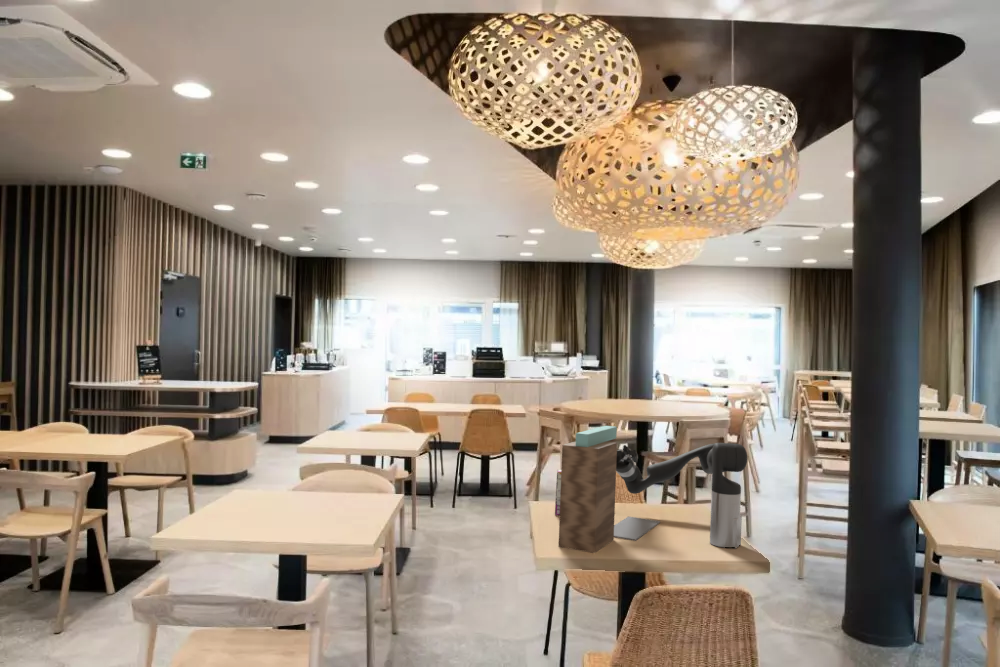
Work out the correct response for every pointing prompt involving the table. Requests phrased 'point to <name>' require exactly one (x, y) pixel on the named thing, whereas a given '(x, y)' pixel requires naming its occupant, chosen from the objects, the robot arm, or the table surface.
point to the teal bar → (596, 436)
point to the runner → (633, 528)
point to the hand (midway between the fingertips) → (612, 446)
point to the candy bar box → (558, 493)
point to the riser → (587, 496)
